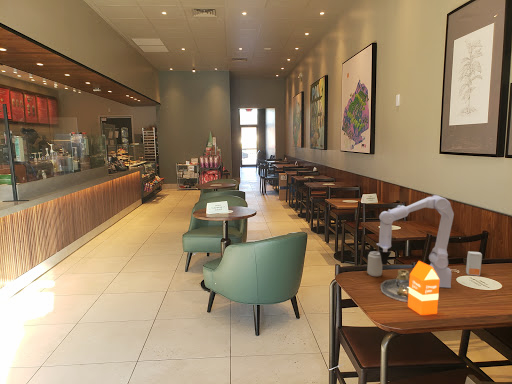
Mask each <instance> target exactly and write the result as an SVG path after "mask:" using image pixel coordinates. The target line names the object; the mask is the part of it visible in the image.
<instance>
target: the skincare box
mask: <svg viewBox="0 0 512 384" xmlns="http://www.w3.org/2000/svg"><path fill="white" fill-rule="evenodd" d="M482 260H483V254H482V253H481V252H479V251H467V257H466V266H465V267H466V268H465V273H466V275H468V276H477V277H479V276H481V269H482Z"/></svg>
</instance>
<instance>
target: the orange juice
mask: <svg viewBox="0 0 512 384" xmlns="http://www.w3.org/2000/svg"><path fill="white" fill-rule="evenodd" d="M409 279H410V280H409V295H408V302H407V307H408V308H409V309H411V310H412V311H414V312H416V313H417V314H419V315H420V316H427V315H436V314H438V304H439V295H440V293H439V290H440V287H439V280H440V279H439V277H438V276H437V274H436V272H435V270H434V269H433V267H432V266H430V264H427V263H425V262H423V261H421V260H418V261H417V263H416V264H415V266H414V267H413V268H412V270H411V271H410V272H409Z"/></svg>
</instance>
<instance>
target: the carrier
mask: <svg viewBox="0 0 512 384" xmlns="http://www.w3.org/2000/svg"><path fill="white" fill-rule="evenodd" d="M408 279H409V278H408ZM408 279H396V278H393V279H385V280H383V282H381V283H380V292H382V293H383V295H384V296H386V297H388V298H390V299H393V300H396V301H399V302H404V303H408V295H409V280H408Z"/></svg>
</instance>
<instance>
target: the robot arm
mask: <svg viewBox="0 0 512 384" xmlns="http://www.w3.org/2000/svg"><path fill="white" fill-rule="evenodd" d="M424 208H426V209H427V208H428V209H432V210H433V209H435V210H436V211H437V212H438V214H440V220H439V225H438V230H437V235H436V240H435V245H434V247H433V248H432V250H431V252H430V253H429V255H428V260H429V261H430V264H429V266H432V267H433V269H434V270H435V272H436V274H437V276H438V277H439V279H440V280H439V288H446V289H451V288H452V286H451V285H452V284H451V283H452V270H451V268H450V267H448V265H449V259H448V256H449V254H448V251H447V249H448V244H449V239H450V235H451V231H452V226H453V221H454V217H455V216H454V215H455V212H454V211H453V208H452V205H451V202H450V201H449V200H448V199H447V198H445V197H442V196H440V195H438V194H434V195H431V196H427V197H426V198H422V199H421V200H418V201H416V202H413V203H411V204H409V205H407V206H405V205H400V204H398V205H397V206H396V207H394V208H392V209H390V208H388V210H387V211H386V210H384V211H382V212H381V213H380V214H379V216H378V218H379V221H380V222H379V236H378V243H377V242H376V246H378V249H379V250H378V252H379V253H380V255H381V261H382V264H383V265H385V266H387V264H388V261H389V257H390V255H391V254H392V251H390V249H391V247H392V238H393V237H392V234H393V233H392V232H393V222H395V221H398V220H400V219H403V218H406V217H408V215H409V214H410V213H412V212H415V211H419V210H422V209H424ZM383 265H382V266H383Z"/></svg>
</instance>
